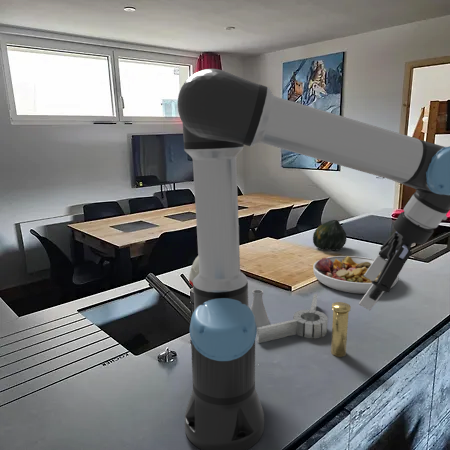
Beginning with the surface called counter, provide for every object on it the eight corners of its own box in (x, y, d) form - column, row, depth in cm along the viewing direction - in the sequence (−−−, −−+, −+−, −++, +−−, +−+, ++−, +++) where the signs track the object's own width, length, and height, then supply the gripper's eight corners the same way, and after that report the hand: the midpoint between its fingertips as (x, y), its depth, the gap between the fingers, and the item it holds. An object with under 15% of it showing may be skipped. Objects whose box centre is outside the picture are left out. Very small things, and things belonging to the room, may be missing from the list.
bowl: (384, 268, 161) (385, 249, 159) (410, 298, 132) (412, 276, 130) (308, 266, 164) (309, 248, 162) (318, 296, 135) (319, 274, 133)
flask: (249, 330, 112) (249, 297, 110) (241, 319, 119) (241, 288, 116) (273, 327, 114) (274, 294, 111) (264, 316, 120) (265, 285, 118)
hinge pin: (347, 359, 97) (350, 310, 94) (328, 356, 99) (331, 308, 96) (347, 349, 102) (350, 303, 99) (329, 347, 103) (332, 301, 100)
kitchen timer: (210, 292, 139) (209, 251, 136) (181, 283, 147) (180, 244, 144) (233, 280, 150) (233, 241, 146) (205, 272, 158) (204, 236, 154)
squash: (305, 233, 193) (317, 215, 182) (332, 232, 198) (345, 214, 186) (314, 258, 186) (328, 241, 174) (342, 256, 190) (357, 239, 178)
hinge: (324, 352, 100) (324, 338, 99) (256, 342, 105) (256, 329, 104) (329, 307, 126) (330, 295, 125) (274, 301, 131) (275, 289, 130)
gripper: (440, 253, 74) (378, 330, 84) (431, 209, 95) (383, 275, 105) (402, 233, 75) (346, 311, 85) (402, 194, 96) (357, 261, 107)
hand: (366, 291), depth 95 cm, fingers open, 13 cm apart
